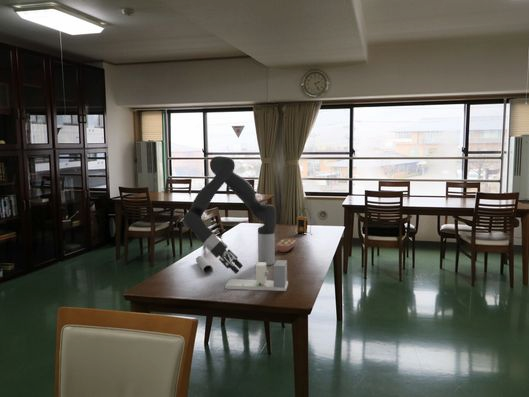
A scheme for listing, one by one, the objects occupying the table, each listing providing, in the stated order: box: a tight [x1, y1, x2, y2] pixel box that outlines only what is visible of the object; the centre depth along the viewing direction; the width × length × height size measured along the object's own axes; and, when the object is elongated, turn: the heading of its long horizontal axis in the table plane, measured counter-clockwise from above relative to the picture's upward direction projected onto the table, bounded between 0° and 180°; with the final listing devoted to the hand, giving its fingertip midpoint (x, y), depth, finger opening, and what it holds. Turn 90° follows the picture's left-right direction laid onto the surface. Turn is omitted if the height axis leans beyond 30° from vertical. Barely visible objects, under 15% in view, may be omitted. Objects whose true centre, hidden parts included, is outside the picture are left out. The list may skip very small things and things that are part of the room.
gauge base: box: [224, 259, 289, 292], centre depth 206 cm, size 10×28×12 cm, turn 81°
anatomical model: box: [275, 237, 297, 253], centre depth 282 cm, size 23×10×5 cm, turn 163°
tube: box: [195, 255, 214, 276], centre depth 239 cm, size 5×5×25 cm
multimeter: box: [292, 207, 312, 234], centre depth 333 cm, size 15×10×20 cm
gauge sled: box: [255, 261, 269, 286], centre depth 205 cm, size 8×5×9 cm, turn 171°
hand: (239, 269), depth 207 cm, fingers open, 8 cm apart
